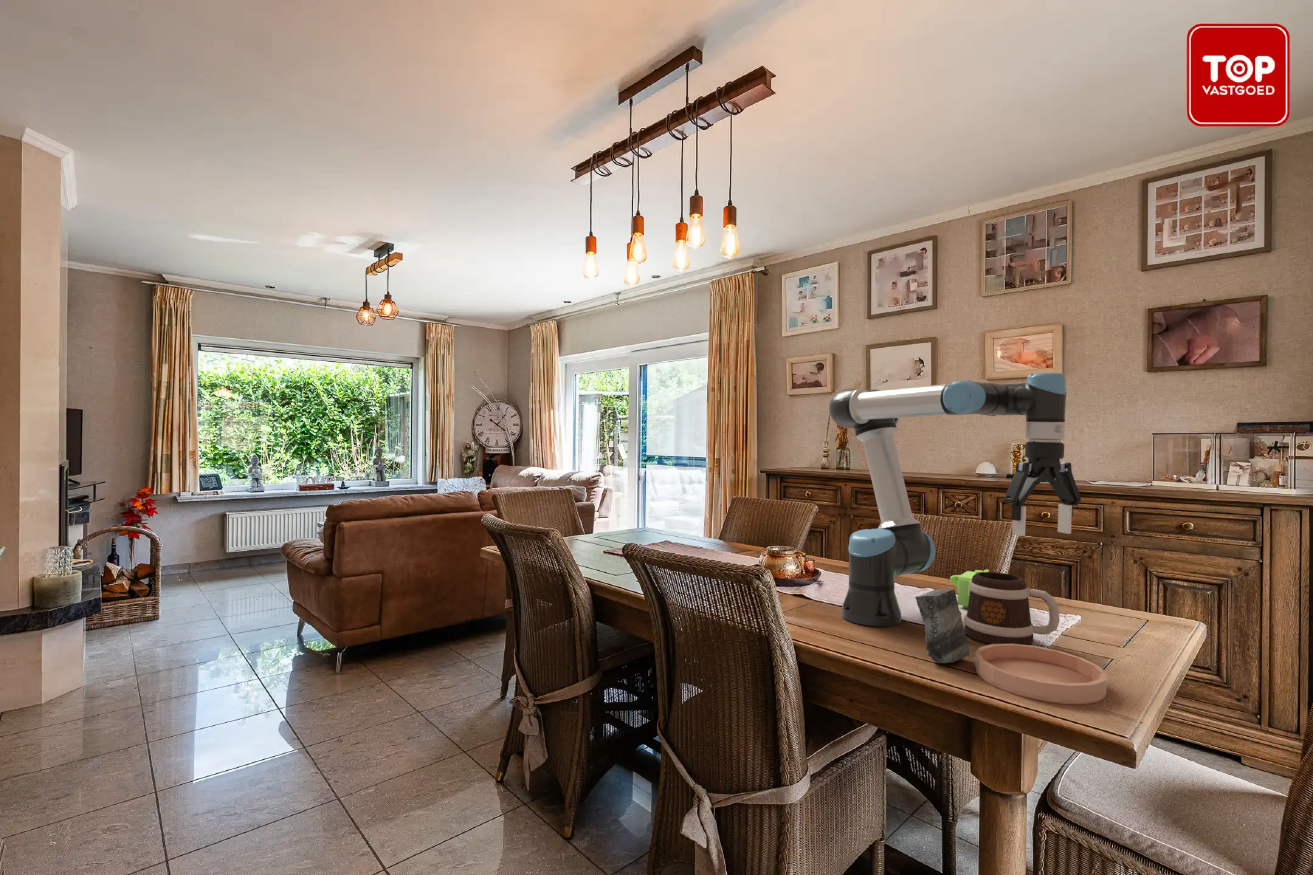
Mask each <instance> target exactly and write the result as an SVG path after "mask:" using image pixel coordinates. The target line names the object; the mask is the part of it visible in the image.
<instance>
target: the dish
mask: <svg viewBox="0 0 1313 875" xmlns="http://www.w3.org/2000/svg"><path fill="white" fill-rule="evenodd" d="M974 667H975V672H976V674H977V676H978V677H979V678H980V679H982V680H983V681H984V682H986V683H987V684H989V685H991V686H993V687H994V688H996V689H1000V690H1002V691H1004V692H1007V693H1009V694H1014V695H1016V696H1020V697H1024V698H1027V699H1031V700H1036V701H1040V702H1047V703H1051V704H1052V703H1053V704H1061V705H1062V704H1063V705H1073V706H1075V705H1092V704H1095V703H1099V702H1101V701H1104V700H1105V699H1106V697H1107V691H1108V673H1107V672H1106V671H1105V670H1104V669H1103V668H1102V667H1100V665H1098V664H1096V663H1094V662H1091V661H1090V660H1087V659H1085V658H1083V657H1081V656H1079V655H1074V654H1072V653H1067V652H1064V651H1061V650H1058V649H1053V648H1047V647H1041V646H1038V645H1031V644H1030V645H1020V644H987V645H983V646H980V647H978V649H977V650H976V651H975V652H974Z"/></svg>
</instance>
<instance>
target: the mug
mask: <svg viewBox="0 0 1313 875" xmlns="http://www.w3.org/2000/svg"><path fill="white" fill-rule="evenodd" d="M968 587H969V590H970V595H969V603H968V608H967V609H966V610H967V612H966V614H965V615H964V618H963V622H964V631H965V635H967V636H968V637H970V638H971V639H973V640H974V641H978V642H980V643H983V644H987V645H991V644H1020V645H1030V646H1031V644H1032V643H1034V640H1035V639H1034V634H1037V635H1049V634H1050V633H1053V632H1054V631H1056V630H1058V627H1059V624H1060V608H1059V604H1058V603H1057V601H1056V600H1055V597H1054V596H1052V595H1051V594H1049V592H1047V591H1044V590H1040V589H1036V588H1029V587H1028V586H1027V583H1026V581H1025V579H1023V578H1022V577H1020V576H1018V575H1014V574H1010V573H1006V572H1005V573H1003V572H995V571H993V572H992V571H991V572H990V571H989V572H980V573H977V574H975V575H973V577H972V581H970V582H969V586H968ZM1029 597H1031V598H1034V599H1041V600H1042V601H1044V602H1045V603H1046V605H1047V607H1048V616H1049V617H1048V618H1049V619H1048V623H1047V624H1046V625H1042V626H1041V625H1034V624H1033V623H1032V619H1031V609H1030V601H1029Z"/></svg>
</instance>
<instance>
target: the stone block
mask: <svg viewBox="0 0 1313 875" xmlns="http://www.w3.org/2000/svg"><path fill="white" fill-rule="evenodd" d="M914 599H916V600H915V601H916V606H917V607H918V609H919V612H920V615H921V618H922V622H923V624H924V631H925V638H924V640H925V645H926V648H925V649H926V651H927V653H928V657H930V658H931V659H932V661H934V662H935V663H940V664H947V663H955V662H956V661H960V660H962V659H964V658H966V657H969V656H970V654H971V653H970V650H969V644H968V641H967V636H966V632H965V626H964V624H963V622H964V621H963V619H962V618H963V617H962V615H963V614H962V612H961V610H960V607H959V605H958V597H957V594H956V590H955V588H945V589H932V590H930V591H928V592H926V593H923V594H920V595H917V596H915V598H914Z"/></svg>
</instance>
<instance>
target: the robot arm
mask: <svg viewBox="0 0 1313 875" xmlns="http://www.w3.org/2000/svg"><path fill="white" fill-rule="evenodd" d="M1066 379H1067V378H1066V377H1065V375H1064V374H1062V373H1059V372H1038V373H1030V374H1028V376H1027V378H1026V382H1022V383H991V382H980V381H979V382H978V381H973V380H958V381H954V382H952V383H944V384H934V385H933V384H931V385H924V386H922V385H921V386H913V387H905V388H904V387H903V388H894V389H885V390H884V389H882V390H881V389H866V388H865V389H864V388H852V387H851V388H849V387H848V388H845V389H841V390H839V391H837V392H836V393H835V394H834V395H833V397H831V399H830V403H829V404H828V405H829V406H828V410H829V415H830V417H831V419H832V420H833V421H834V423H836V424H837V425H838V426H840V427H842V428H845V429H854V432H855V437H856V440H858V441H859V442H861V443H862V444H863V449H864V454H865V456H866V461H867V466H868V470H869V475H870V479H871V482H872V483H871V484H872V487H873V493H874V497H875V500H876V505H877V511H878V514H879V518H880V524H879V526H878V527H877V528H871V529H869V528H865V529H861V530H860V529H859V530H857V531H854V532H853V533H851V534H850V536H849V544H848V546H847V547H848V548H847V550H848V589H847V592H846V595H845V598H844V601H843V603H842V606H841V616H842V617H841V618H843V619H844V620H847V621H849V622H850V623H851V622H852V623H855V624H859V625H863V626H870V627H893V626H897V625H900V624H901V623H902V610H901V607H900V605H899V602H898V598H897V596H896V590H895V582H896V581H895V580H896V579H895V577H898V576H903V575H904V576H905V575H913V574H918V573H921V572H923V571H925V570H927V569H928V568H930V567H931V565H932V563H933V562H934V560H935V556H936V546H935V543H934V541H933V539H932V537H931V536H930V535H928V533H927V532H925V531H923V530H922V525H921V523H920V521H919V520H917V519H916V518H914V516H913V513H912V509H911V504H910V501H909V497H908V496H909V495H908V491H907V488H906V484H905V480H904V476H903V471H902V468H901V463H900V460H899V454H898V450H897V447H896V443H895V442H896V441H895V439H894V435H895V434H896V433H897V431H898V427H897V424H898V423H899V419H901V418H902V419H904V418H918V417H923V418H924V417H936V416H937V417H938V416H939V417H940V416H959V415H961V416H962V415H980V416H986V417H987V416H988V417H996V416H1025V433H1024V435H1025V439H1026V440H1027V441H1026V443H1025V448H1024V457H1025V458H1028V461H1027V462H1024V461H1016V464H1015V472H1014V474H1013V476H1012V479H1011V481H1010V484H1009V485H1008V488H1007V491H1006V493H1005V496H1004V498H1003V503H1006V504H1007V505H1008V506H1010V507H1011V510H1010V511H1011V512H1010V514H1011V515H1010V516H1011V517H1010V518H1011V520H1012V530H1011V532H1012V534H1011V535H1017V536H1022V537H1025V536H1026V520H1027V506H1023V505H1024V504H1025V503H1026V501H1027V500H1028V498H1029V497H1030V496H1031V494H1032V492H1033V491H1034V490H1035V488H1036V486H1037V485H1039V484H1040V483H1048V484H1050V486H1051V488H1052V490H1053V491H1054V492H1055V494H1056V495H1057V496H1056V497H1058V499H1059V501H1060V502H1061V503H1059V504H1058V510H1057V511H1058V512H1057V533H1062V534H1066V535H1067V534H1068V535H1070V534H1072V520H1073V516H1074V513H1073V512H1074V509H1073V508H1074V506H1079V503H1080V502H1081V500H1082V498H1081V495H1080V492H1079V489H1078V486H1077V483H1076V480H1075V478H1074V474H1073V472H1072V463H1071V462H1065V461H1060V460H1062V459H1064V458H1065V444H1064V442H1062V441H1064V440H1065V427H1066V426H1065V423H1066V420H1065V418H1066V405H1067V404H1066V403H1067V400H1066V399H1067V394H1068V392H1067V382H1066Z"/></svg>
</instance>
